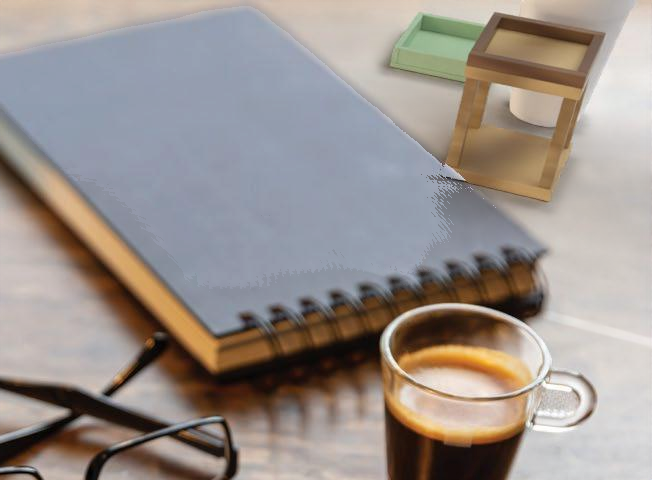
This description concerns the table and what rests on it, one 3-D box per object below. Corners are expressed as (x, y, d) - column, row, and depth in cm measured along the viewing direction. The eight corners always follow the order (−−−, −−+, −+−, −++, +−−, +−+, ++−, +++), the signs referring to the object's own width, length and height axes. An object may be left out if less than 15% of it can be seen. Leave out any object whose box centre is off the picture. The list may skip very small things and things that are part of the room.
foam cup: (470, 107, 120) (504, -33, 112) (529, 78, 125) (566, -59, 116) (561, 146, 115) (604, 2, 106) (619, 114, 119) (664, -27, 110)
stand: (569, 153, 114) (606, 32, 106) (549, 202, 108) (586, 77, 100) (465, 130, 117) (494, 11, 110) (440, 176, 111) (468, 53, 104)
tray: (507, 48, 129) (512, 29, 128) (485, 86, 123) (490, 66, 122) (415, 30, 133) (419, 11, 131) (389, 66, 126) (393, 47, 125)
